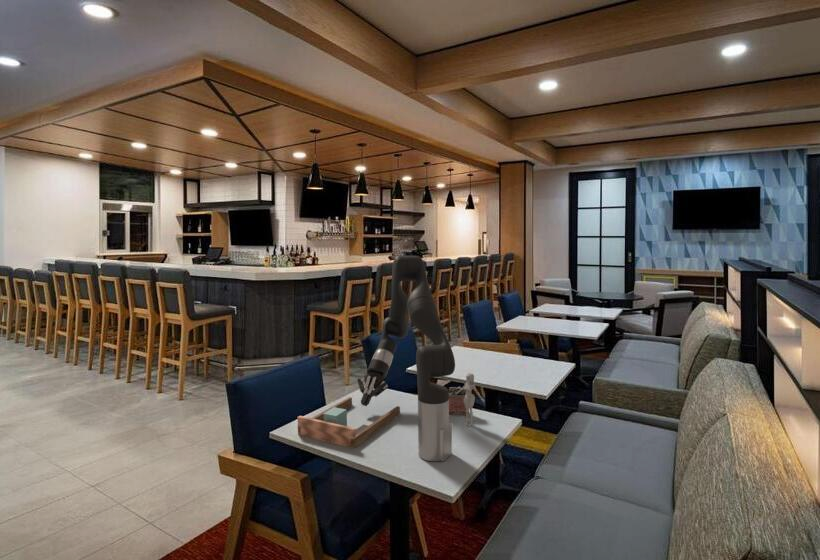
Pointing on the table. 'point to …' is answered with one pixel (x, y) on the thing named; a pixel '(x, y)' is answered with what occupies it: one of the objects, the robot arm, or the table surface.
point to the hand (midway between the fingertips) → (363, 405)
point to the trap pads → (361, 428)
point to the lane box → (341, 427)
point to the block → (336, 416)
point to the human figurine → (469, 396)
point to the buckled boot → (457, 402)
